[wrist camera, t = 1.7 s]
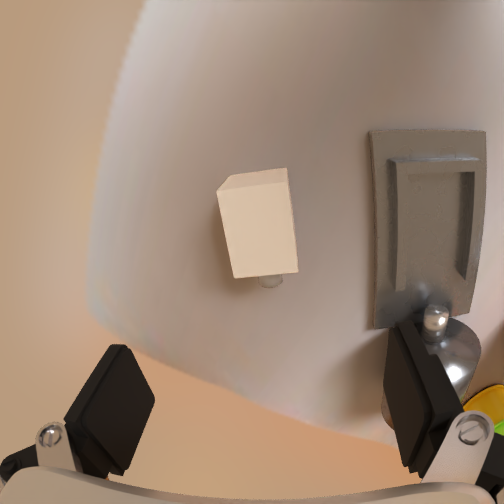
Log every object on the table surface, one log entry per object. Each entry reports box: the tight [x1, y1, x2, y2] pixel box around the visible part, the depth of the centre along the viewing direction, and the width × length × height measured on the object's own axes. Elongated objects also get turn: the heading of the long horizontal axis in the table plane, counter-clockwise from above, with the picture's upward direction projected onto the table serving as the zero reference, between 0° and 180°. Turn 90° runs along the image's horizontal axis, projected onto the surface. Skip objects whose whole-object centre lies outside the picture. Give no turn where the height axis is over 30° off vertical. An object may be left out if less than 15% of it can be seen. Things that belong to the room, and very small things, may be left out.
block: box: [216, 168, 298, 288], centre depth 26 cm, size 9×5×6 cm, turn 9°
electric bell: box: [369, 130, 486, 431], centre depth 25 cm, size 30×12×10 cm, turn 9°
